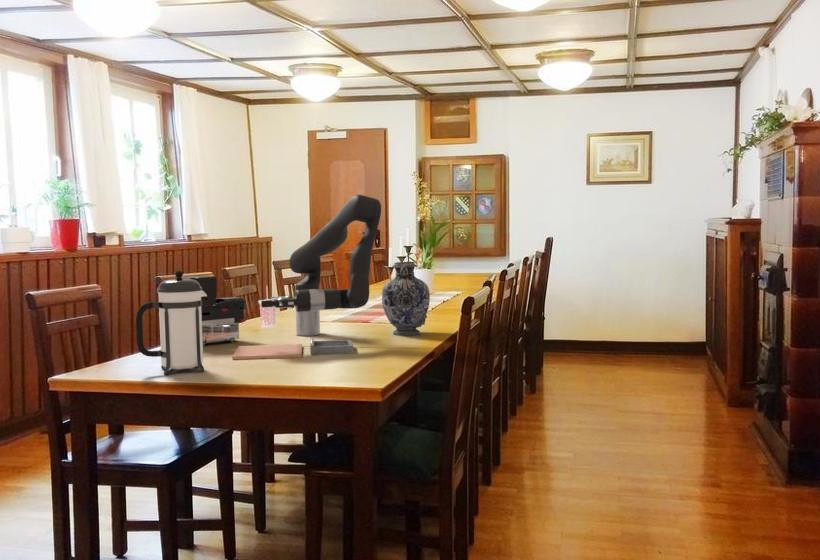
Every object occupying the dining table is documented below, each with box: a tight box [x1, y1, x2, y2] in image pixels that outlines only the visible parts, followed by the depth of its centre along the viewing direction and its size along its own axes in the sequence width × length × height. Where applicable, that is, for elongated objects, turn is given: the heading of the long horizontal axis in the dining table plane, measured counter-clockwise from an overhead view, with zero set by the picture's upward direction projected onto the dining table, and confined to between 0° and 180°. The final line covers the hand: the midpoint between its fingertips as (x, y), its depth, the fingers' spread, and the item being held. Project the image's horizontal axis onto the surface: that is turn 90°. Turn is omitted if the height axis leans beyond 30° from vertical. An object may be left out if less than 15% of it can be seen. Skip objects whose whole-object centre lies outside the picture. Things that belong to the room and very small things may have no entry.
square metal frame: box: [309, 337, 354, 356], centre depth 265 cm, size 14×14×4 cm
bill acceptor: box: [181, 275, 246, 347], centre depth 286 cm, size 10×23×25 cm, turn 129°
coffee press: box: [135, 270, 207, 376], centre depth 231 cm, size 17×16×30 cm
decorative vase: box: [381, 261, 431, 337], centre depth 302 cm, size 21×19×28 cm
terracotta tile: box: [231, 343, 303, 360], centre depth 262 cm, size 22×22×1 cm
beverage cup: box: [258, 285, 277, 329], centre depth 261 cm, size 6×6×14 cm
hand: (260, 303), depth 260 cm, fingers closed on beverage cup, 6 cm apart
